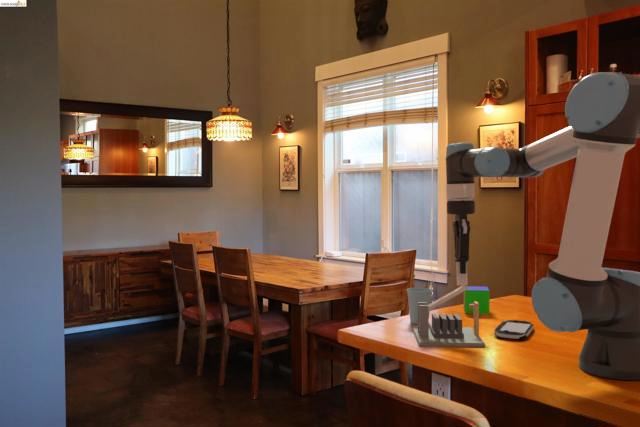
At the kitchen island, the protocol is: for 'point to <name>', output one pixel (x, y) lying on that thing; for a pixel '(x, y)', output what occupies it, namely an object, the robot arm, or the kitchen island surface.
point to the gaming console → (513, 330)
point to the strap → (447, 297)
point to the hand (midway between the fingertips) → (462, 284)
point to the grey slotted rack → (446, 329)
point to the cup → (415, 297)
